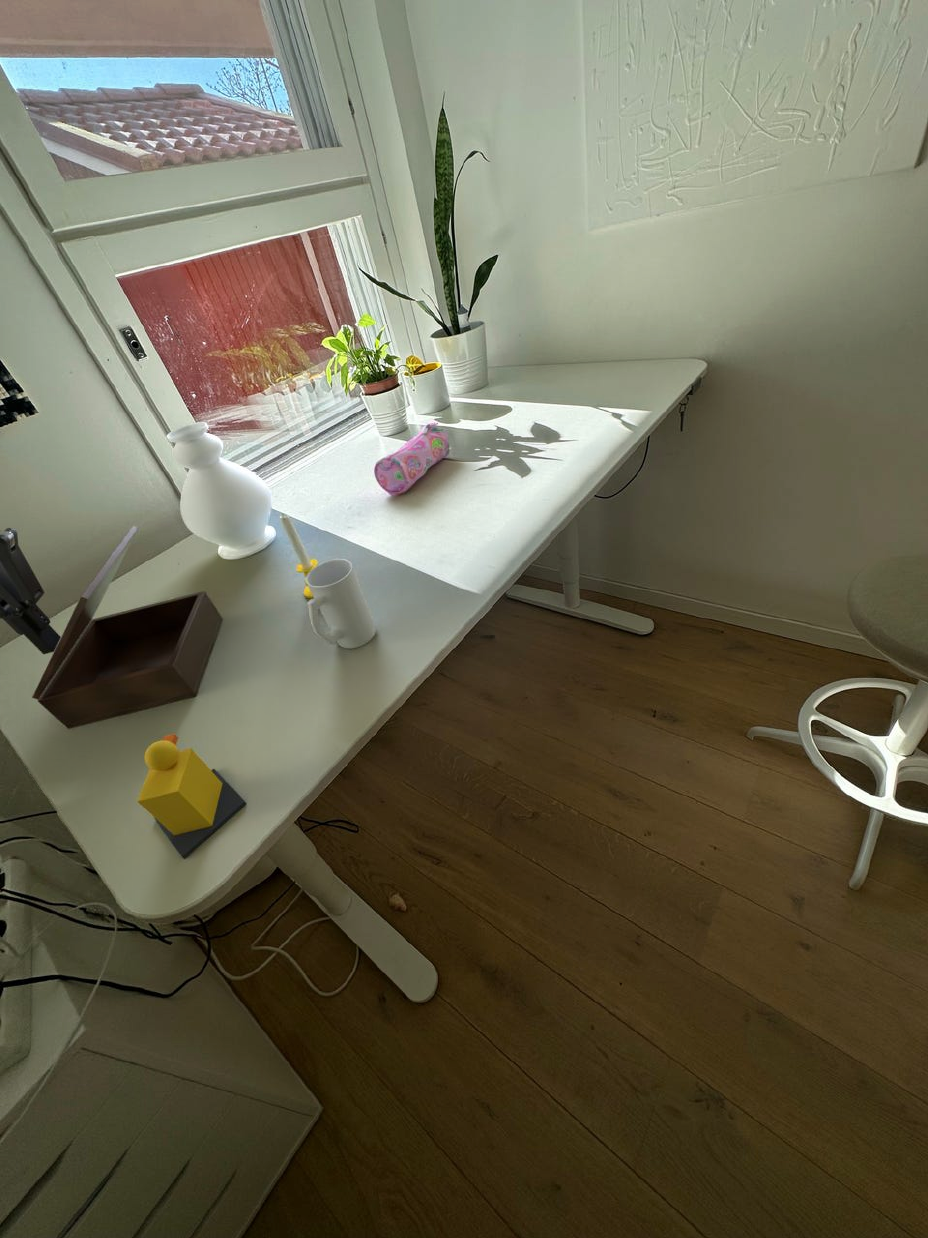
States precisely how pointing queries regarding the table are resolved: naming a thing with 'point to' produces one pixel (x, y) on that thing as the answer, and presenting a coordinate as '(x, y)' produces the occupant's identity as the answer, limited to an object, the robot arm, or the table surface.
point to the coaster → (224, 811)
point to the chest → (135, 661)
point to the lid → (84, 611)
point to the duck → (179, 787)
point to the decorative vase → (221, 495)
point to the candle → (299, 551)
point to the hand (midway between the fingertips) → (53, 646)
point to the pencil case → (412, 460)
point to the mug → (339, 604)
